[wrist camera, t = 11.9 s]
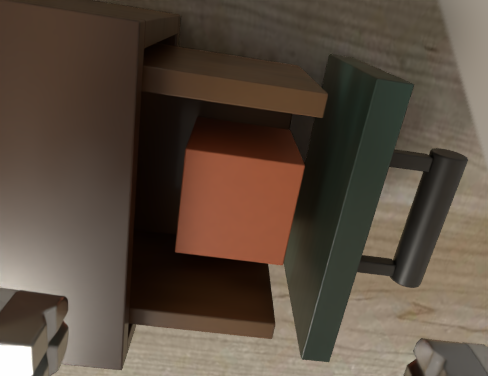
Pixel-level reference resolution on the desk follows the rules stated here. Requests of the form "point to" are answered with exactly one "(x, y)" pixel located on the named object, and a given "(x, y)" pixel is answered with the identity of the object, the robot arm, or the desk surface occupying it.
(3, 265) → the cabinet
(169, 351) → the desk surface
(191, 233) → the block
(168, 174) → the drawer
